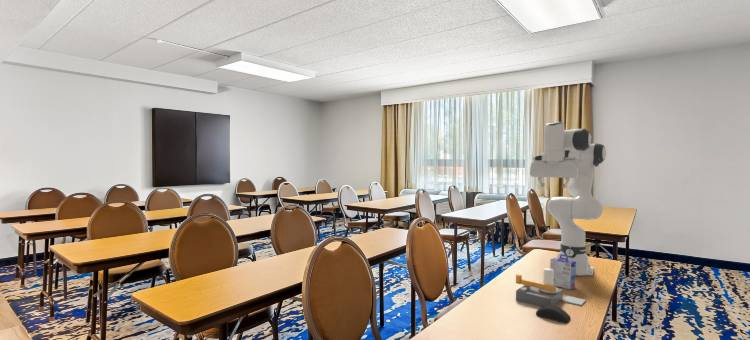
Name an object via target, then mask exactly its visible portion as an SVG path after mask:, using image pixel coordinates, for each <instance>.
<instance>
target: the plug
mask: <svg viewBox="0 0 750 340" xmlns="http://www.w3.org/2000/svg"><path fill="white" fill-rule="evenodd" d="M542 275H543V276H542V283H543V284H547V285H552V286H555V285H554V270H553V269H550V267H549V268H548V267H544V268H543V271H542ZM538 290H539V291H541V292H544V293H550V294H555V293H558V287H556V292H553V291H549V290H544V289H540V288H538Z"/></svg>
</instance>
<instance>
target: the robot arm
mask: <svg viewBox="0 0 750 340" xmlns="http://www.w3.org/2000/svg"><path fill="white" fill-rule="evenodd" d="M544 126H545V127H544V133H543V144H544V148H543V153H540V154H537V155H533V157H532V162H531V164H530V169H529V176H530V177H533V178H537V181H538V182H539V183H540V184H539V186H540V188H544V187H545V182H543V181H542V180H543V178H559V179H560V178H562V179H564V180H565V182H564V183H562V184H561V185H562V188H563V189H567V191H568V193H569V194H570V195H571V197H570V196H555V197H551V198H550V199H549V200H548V202H547V206H546V207H547V212H548V213H549V214H550V215H551V216H552V217H553V218H555V220H556V221H557V223H558V225H559V227H560V235H561V242H560V245H559V246H560V247H559V248H560V249H559V250H560V251H559V252H558V253H557V254H556V256H557V257H556V258H560V255H561V254H563V255H568V260H570V261H575V262H576V276H594V268H595V267H594V266H592V265H591V264H590V258H589V256H588V254H587V244H586V231H585V229H584V228H583V227H581V226H580V225H578V224H576V222H575V220H584V221H590V220H592V221H595V220H598V219H600V218H601V216H602V215H603V212H604V211H603V205H602V203H601V202H600V201H599V200H597V199H596V198H595V197H594V196H593V194H592V188H593V187H592V186H593V183H594V176H595V175H594V174H595V171H594V168H595V167H596V168H597V167H599V165H601V164H603V162H604V161H605V160H606V157H607V149H606V147H605V145H604V144H601V143H592V142H593V136H592V133H591V132H590V131H589V130H588V129H586V128H571V129H565V124H564V122H562V121H551V122H548V123H545V125H544ZM567 184H568V185H567ZM574 219H575V220H574ZM561 257H562V258H567V257H565V256H561Z"/></svg>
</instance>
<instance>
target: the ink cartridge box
mask: <svg viewBox="0 0 750 340" xmlns="http://www.w3.org/2000/svg"><path fill="white" fill-rule="evenodd" d="M561 256H565V257H567V258H562V257H561ZM549 261H550V262H549V268H550V269H553V270H554V286H556V287H559V288H561V289H567V290H572V289H575V288H576V276H577V275H576V262H575V261H570V260H568V255H563V254H561V255H560V258H557V257H553V258H551V259H550V260H549Z"/></svg>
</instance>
